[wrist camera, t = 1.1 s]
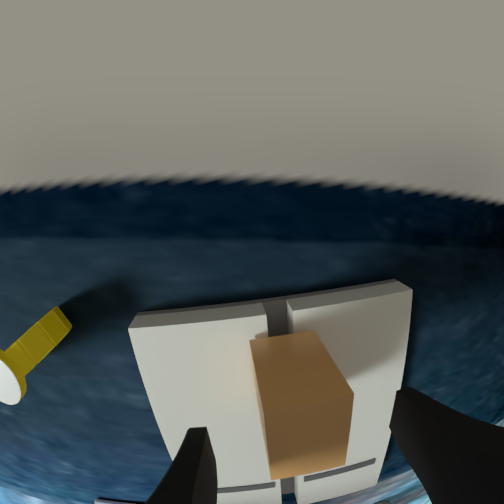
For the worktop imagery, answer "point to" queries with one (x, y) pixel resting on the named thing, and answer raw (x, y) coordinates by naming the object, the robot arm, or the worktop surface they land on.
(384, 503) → the container
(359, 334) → the fader console
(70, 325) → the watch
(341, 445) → the fader tab
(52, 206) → the worktop surface
